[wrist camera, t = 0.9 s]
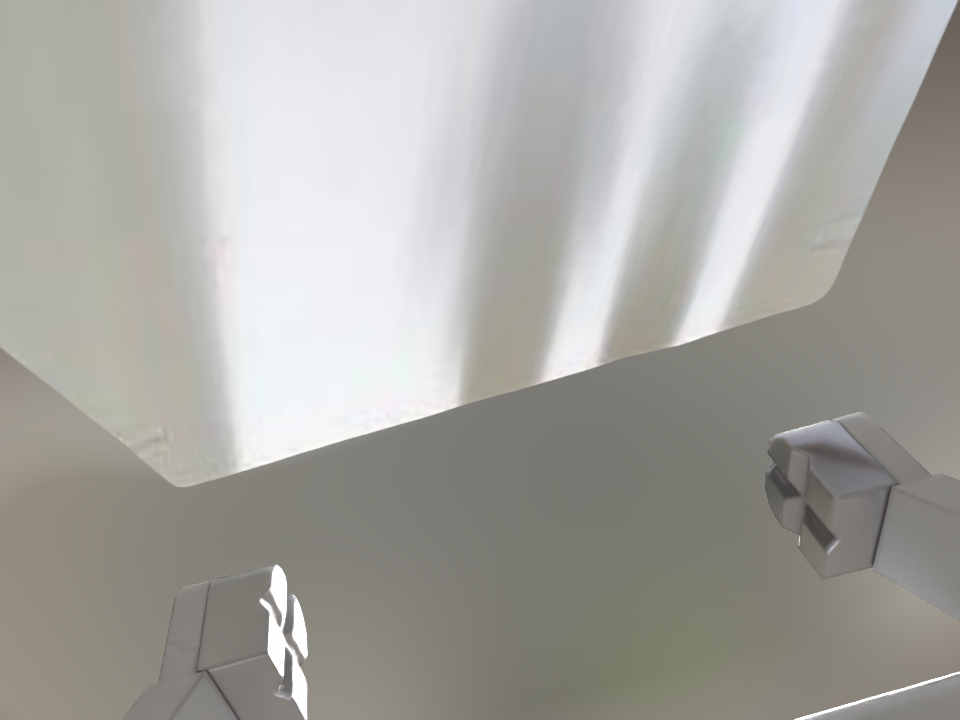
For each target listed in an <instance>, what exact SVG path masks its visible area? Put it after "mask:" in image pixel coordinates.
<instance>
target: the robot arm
mask: <svg viewBox="0 0 960 720" xmlns="http://www.w3.org/2000/svg"><path fill="white" fill-rule="evenodd" d="M768 455H769V456H770V457H771V458H772V460H773V461H774V463H773V464H772V466H771V467H770V468H769V470H768V471H767V472H766V476H765V490H766V494H767V498H768V502H769V505H770V507H771V509H772V511H773V513H774V515H775V517H776V518H777V520H778V521H779V522H780V524H781V525H782V527H783V528H785V529H787V530H790V531H792V532H794V533H796V534H798V535H800V537H799V546H798V548H799V550H800V551H801V552H802V554H803V555H804V557H805V558H806V559H807V561H808V562H809V563H810V565H811V566H812V567H813V569H814V570H815V571H816V573H817V574H818V575H819V577H820V578H821V579H822V580H823V579H827V578H831V577H835V576H839V575H843V574H847V573H851V572H855V571H859V570H863V569H867V568H871V567H873V570H874V571H875V572H877V573H878V574H880V575H882V576H884V577H885V578H887V579H889V580H890V581H892V582H894V583H896V584H897V585H899V586H901V587H902V588H904V589H906V590H907V591H909V592H911V593H913V594H914V595H916V596H918V597H919V598H921V599H923V600H924V601H926V602H928V603H930V604H931V605H933V606H935V607H936V608H938V609H940V610H941V611H943V612H945V613H947V614H948V615H950V616H952V617H953V618H955V619H957V620H958V621H960V480H958V479H955V478H952V477H950V476H947V475H944V474H937V475H931V474H930V473H929V472H928V471H927V470H926V469H925V468H924V467H923V466H922V465H921V464H919V463H918V462H917V461H916V460H915V459H914V458H913V457H912V456H911V455H910V454H909V453H908V452H907V451H906V450H905V449H904V448H902V446H900V445H899V444H898V443H897V442H896V441H895V440H894V439H893V438H892V437H891V436H890V435H889V434H888V433H887V432H886V431H884V430H883V429H882V428H881V427H880V426H879V425H878V424H877V423H876V422H875V421H874V420H873V419H872V418H871V417H870V416H869V415H867V414H864V413H862V412H857V413H853V414H849V415H846V416H842V417H838V418H834V419H831V420H829V421H823V422H819V423H815V424H812V425H808V426H804V427H801V428H797V429H793V430H790V431H786V432H782V433H779V434H775V435H772V437H771V439H770V440H769V444H768ZM286 586H287V579H286V577H285V575H284V573H283V571H282V569H281V567H280V566H279V565H273V566H269V567H264V568H260V569H256V570H252V571H247V572H244V573H239V574H235V575H230V576H226V577H222V578H218V579H213V580H211V581H207V582H203V583H199V584H194V585H190V586H186V587H182V588H180V589H179V591H178V593H177V594H176V596H175V598H174V604H173V608H172V614H171V619H170V624H169V629H168V635H167V640H166V645H165V651H164V655H163V661H162V666H161V671H160V676H159V682H158V683H157V684H154V685H150V686H148V687H147V688H146V690H145V691H144V692H143V693H142V695H141V696H140V697H139V699H138V700H137V701H136V702H135V704H134V705H133V706H132V708H131V709H130V710H129V711H128V713H127V714H126V715H125V716H124V718H123V719H122V720H307V717H306V716H307V681H306V679H305V677H304V675H303V673H302V671H301V669H300V666H301V664H302V663H303V661H304V660H305V658H306V657H307V637H306V631H305V624H304V619H303V616H302V612H301V609H300V606H299V604H298V602H297V600H296V597H294V596H292V595H290V594H288V593H286ZM796 720H960V672H958V673H955V674H952V675H948V676H945V677H941V678H938V679H934V680H931V681H927V682H924V683H920V684H917V685H913V686H910V687H907V688H903V689H900V690H896V691H893V692H889V693H886V694H883V695H879V696H875V697H872V698H869V699H865V700H862V701H858V702H855V703H851V704H848V705H844V706H841V707H837V708H834V709H831V710H827V711H824V712H820V713H817V714H813V715H810V716H806V717H803V718H799V719H796Z"/></svg>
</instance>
